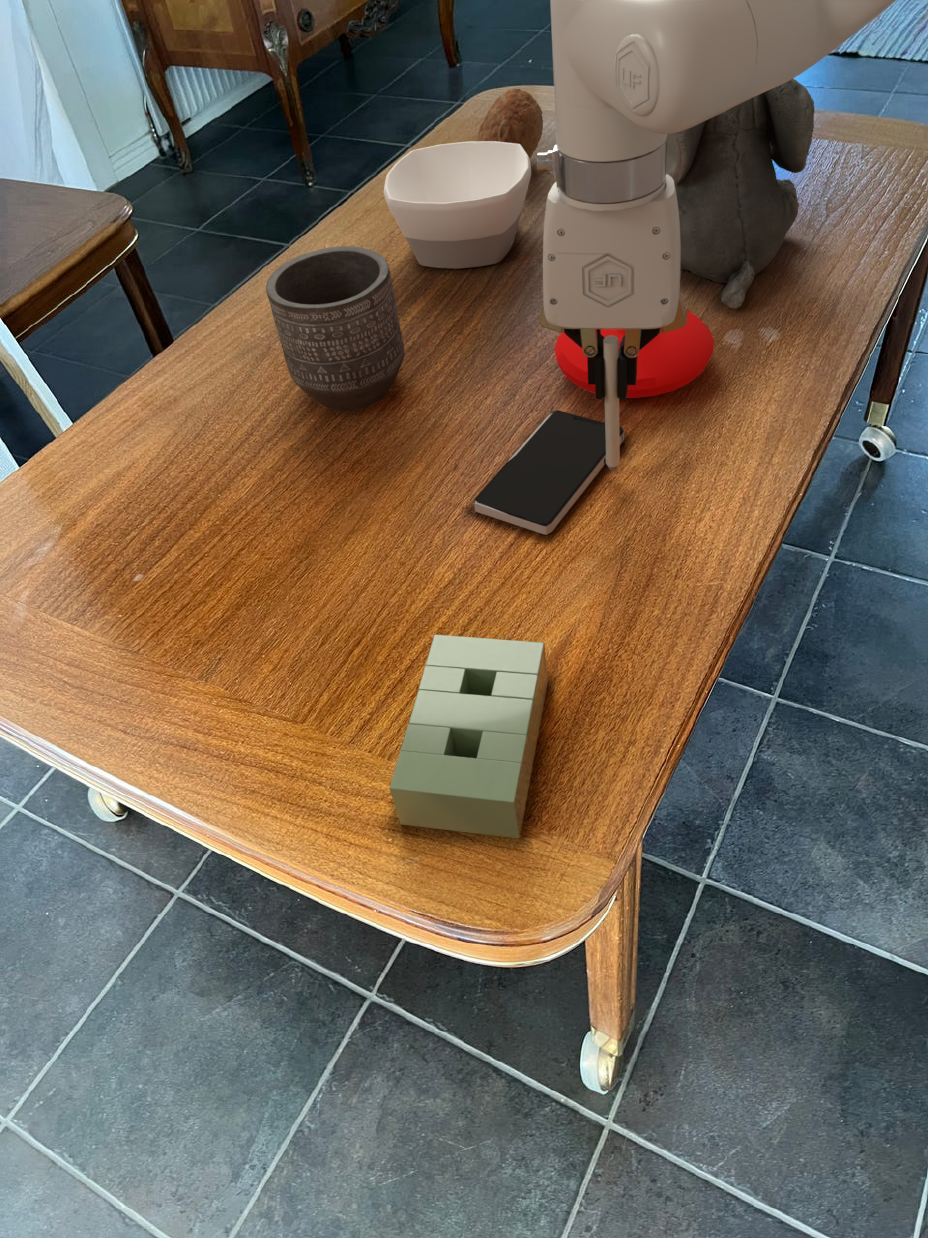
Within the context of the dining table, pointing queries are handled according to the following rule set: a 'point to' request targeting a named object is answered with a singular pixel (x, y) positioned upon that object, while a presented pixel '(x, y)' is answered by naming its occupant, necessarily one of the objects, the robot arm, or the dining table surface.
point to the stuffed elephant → (740, 185)
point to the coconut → (514, 121)
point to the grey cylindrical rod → (611, 402)
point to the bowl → (459, 201)
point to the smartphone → (547, 473)
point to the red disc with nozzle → (649, 359)
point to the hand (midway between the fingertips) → (612, 389)
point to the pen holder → (472, 736)
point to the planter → (338, 325)
